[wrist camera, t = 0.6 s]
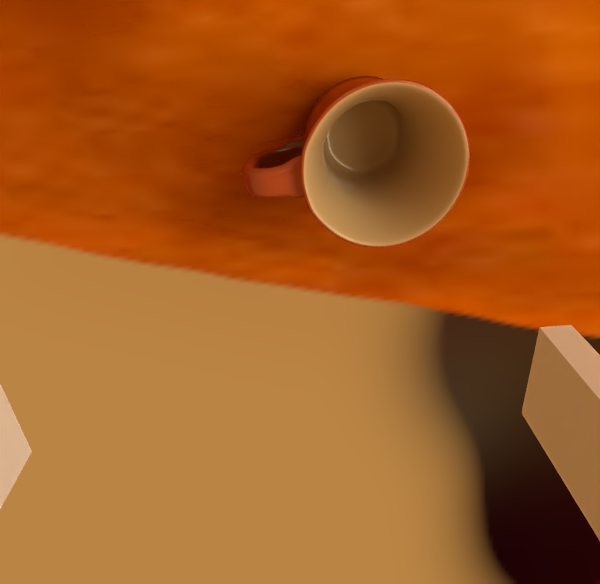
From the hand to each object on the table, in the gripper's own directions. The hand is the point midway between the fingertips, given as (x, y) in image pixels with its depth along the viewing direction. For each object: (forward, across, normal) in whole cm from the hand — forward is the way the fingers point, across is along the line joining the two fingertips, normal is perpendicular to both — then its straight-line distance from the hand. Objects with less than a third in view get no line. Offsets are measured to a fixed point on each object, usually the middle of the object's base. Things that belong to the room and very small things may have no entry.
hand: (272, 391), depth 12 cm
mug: (+26, +4, 0) cm, 26 cm away
